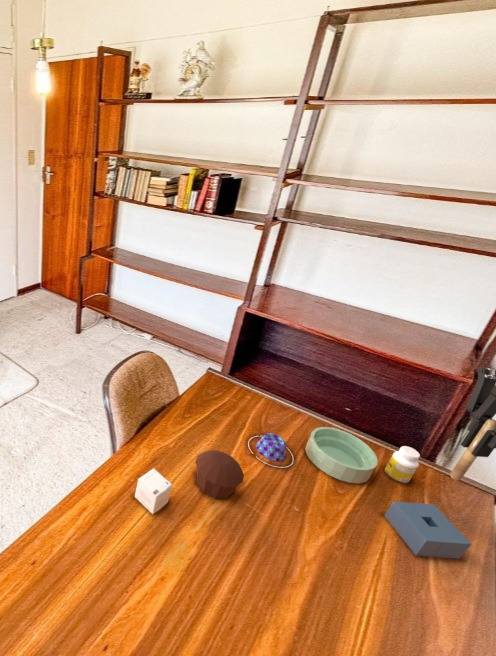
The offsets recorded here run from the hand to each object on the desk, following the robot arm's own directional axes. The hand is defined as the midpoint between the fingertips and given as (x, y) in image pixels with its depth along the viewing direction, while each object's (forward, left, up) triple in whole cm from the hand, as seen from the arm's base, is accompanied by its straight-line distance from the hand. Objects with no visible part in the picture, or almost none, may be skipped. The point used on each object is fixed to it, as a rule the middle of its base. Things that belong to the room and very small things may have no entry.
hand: (474, 450), depth 83 cm
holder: (0, +1, -28) cm, 28 cm away
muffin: (+45, -10, -28) cm, 54 cm away
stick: (0, 0, -8) cm, 8 cm away
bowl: (+6, -21, -28) cm, 36 cm away
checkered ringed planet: (+24, -23, -28) cm, 43 cm away
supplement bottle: (-8, -17, -28) cm, 34 cm away
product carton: (+63, -4, -28) cm, 69 cm away
